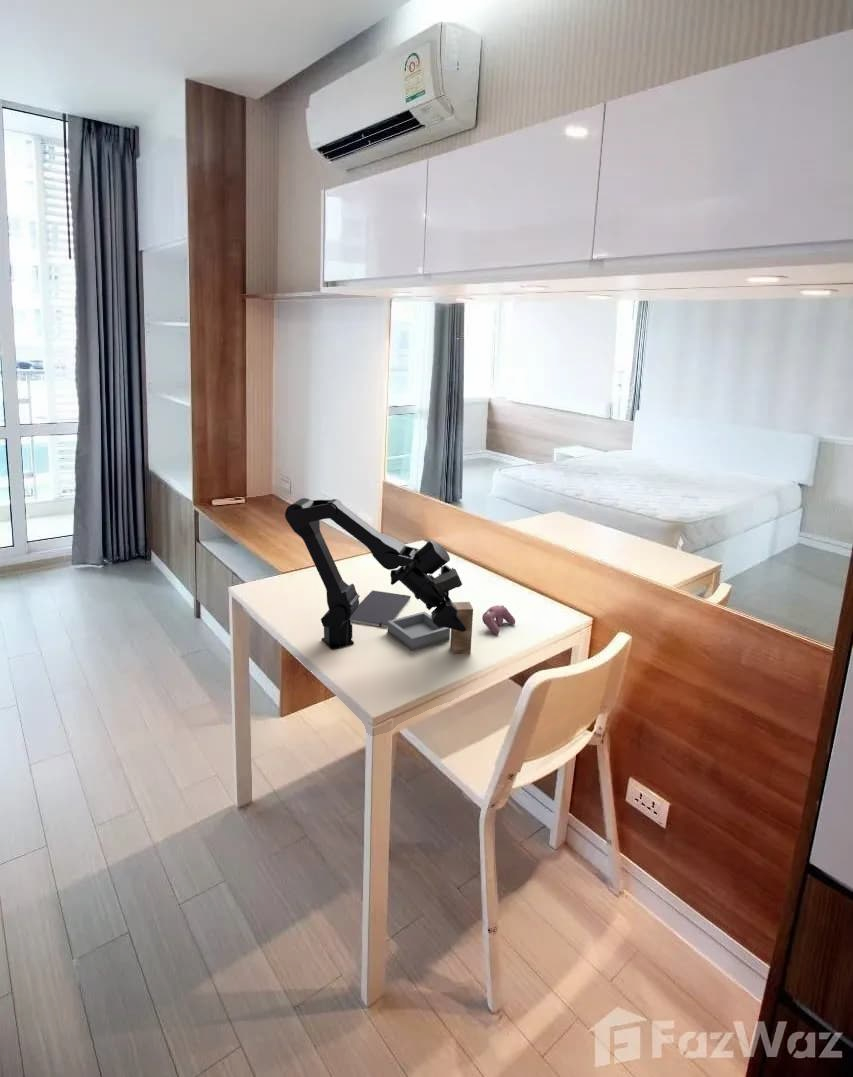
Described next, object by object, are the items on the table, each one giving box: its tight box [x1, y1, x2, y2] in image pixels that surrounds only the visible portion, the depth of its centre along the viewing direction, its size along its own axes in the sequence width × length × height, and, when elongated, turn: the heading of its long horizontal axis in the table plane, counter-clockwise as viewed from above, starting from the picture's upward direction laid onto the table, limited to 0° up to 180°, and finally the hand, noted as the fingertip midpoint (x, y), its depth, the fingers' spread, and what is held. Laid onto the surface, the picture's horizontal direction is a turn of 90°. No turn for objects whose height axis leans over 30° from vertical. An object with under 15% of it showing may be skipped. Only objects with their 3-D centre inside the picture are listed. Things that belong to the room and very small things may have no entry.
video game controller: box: [481, 604, 516, 636], centre depth 181 cm, size 10×5×7 cm, turn 141°
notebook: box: [349, 590, 412, 628], centre depth 190 cm, size 13×2×21 cm
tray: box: [387, 611, 451, 652], centre depth 174 cm, size 12×12×4 cm
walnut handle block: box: [449, 601, 474, 655], centre depth 166 cm, size 4×4×12 cm
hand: (461, 622), depth 165 cm, fingers open, 9 cm apart
